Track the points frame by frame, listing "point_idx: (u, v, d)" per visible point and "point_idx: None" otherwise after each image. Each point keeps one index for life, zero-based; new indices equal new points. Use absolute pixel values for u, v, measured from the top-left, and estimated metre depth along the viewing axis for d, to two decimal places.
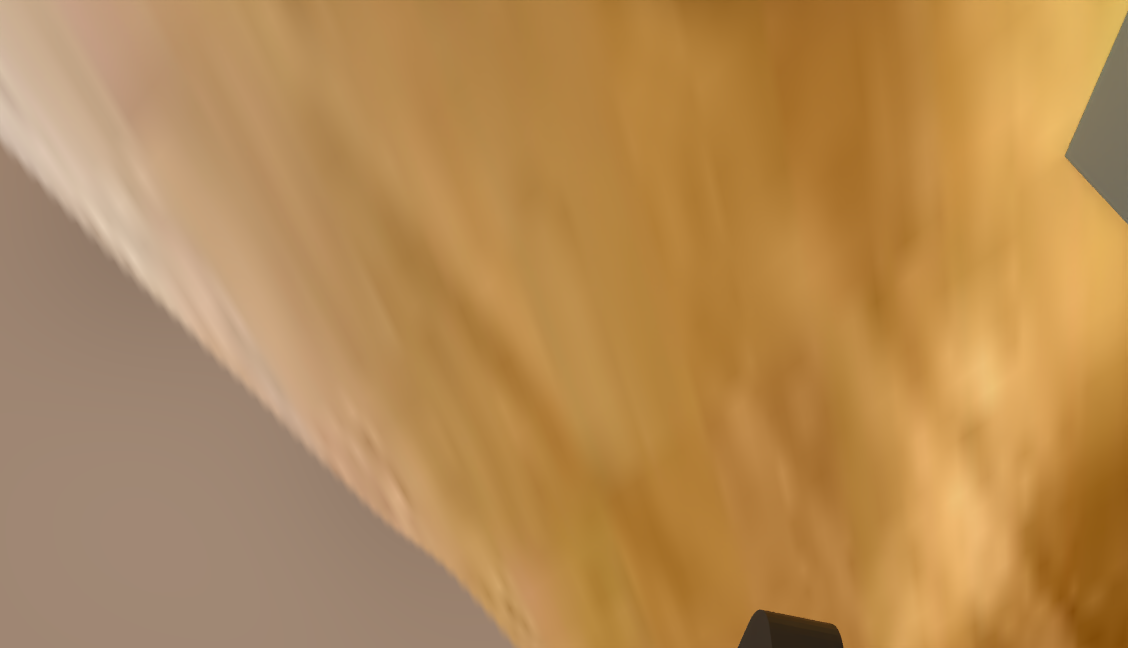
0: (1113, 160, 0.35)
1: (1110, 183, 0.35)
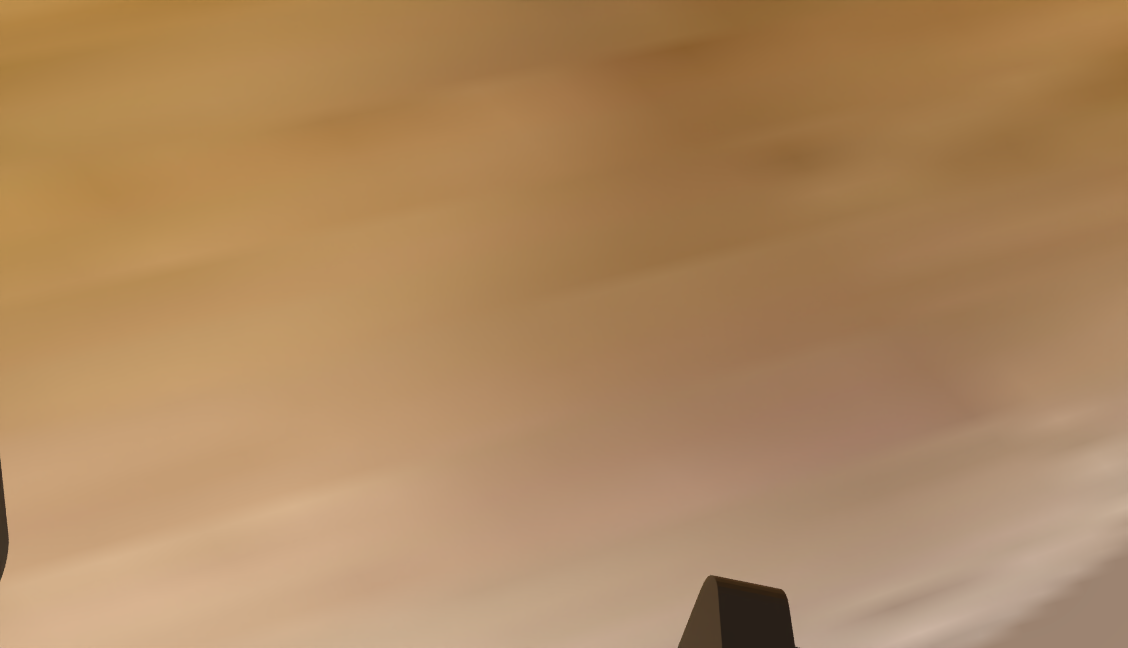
0: None
1: None
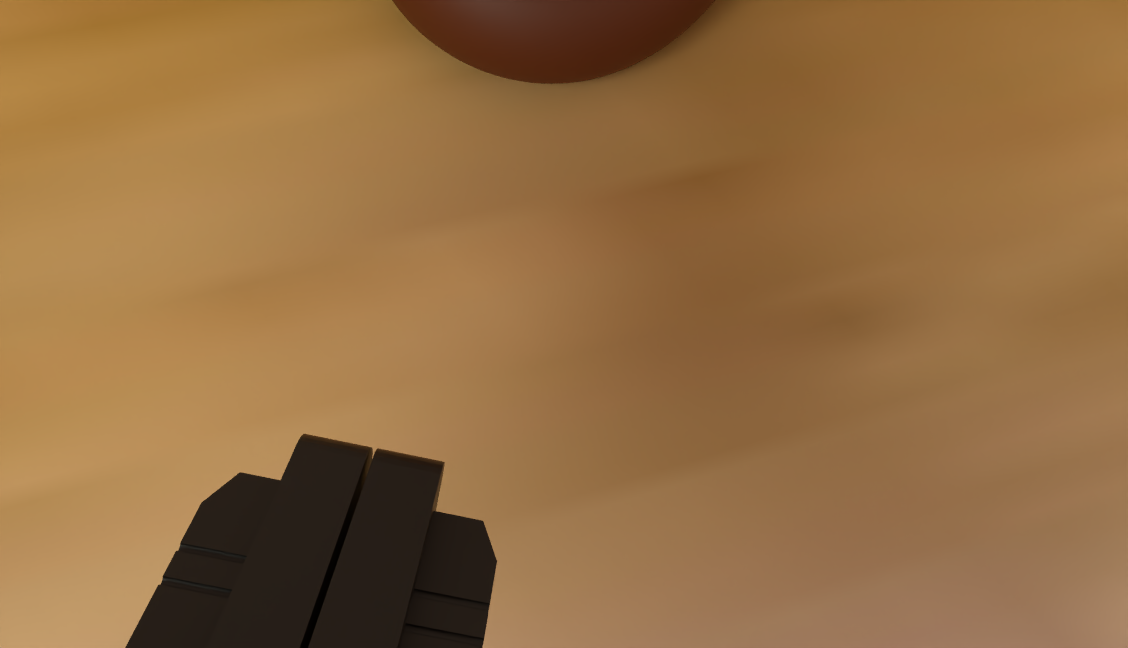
0: None
1: None
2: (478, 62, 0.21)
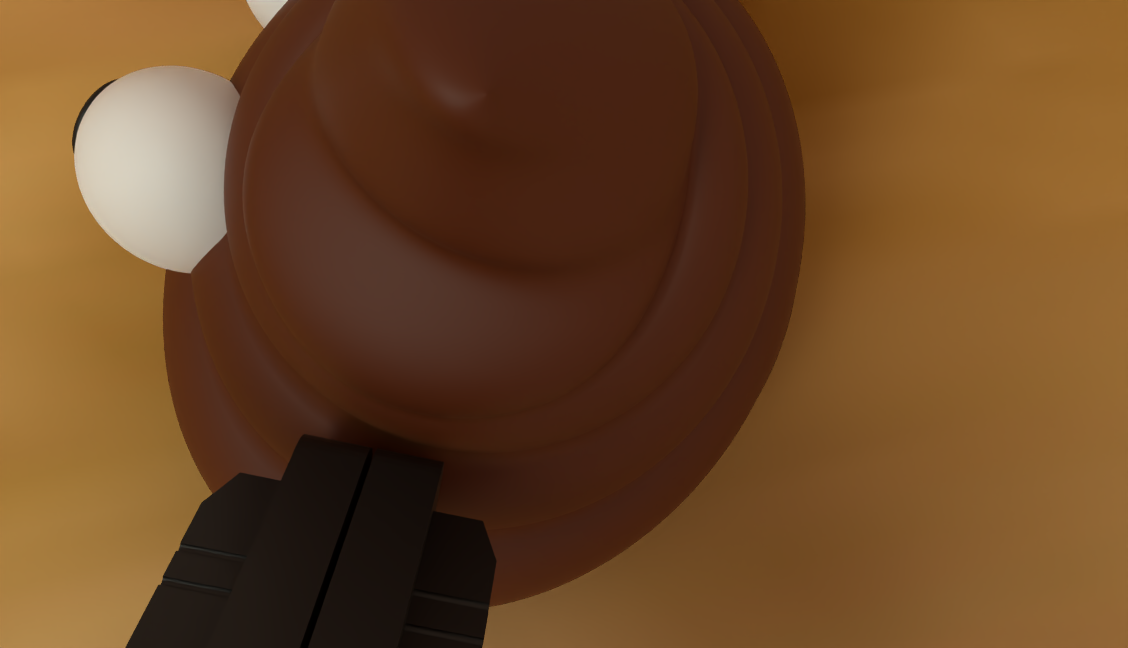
0: None
1: None
2: None
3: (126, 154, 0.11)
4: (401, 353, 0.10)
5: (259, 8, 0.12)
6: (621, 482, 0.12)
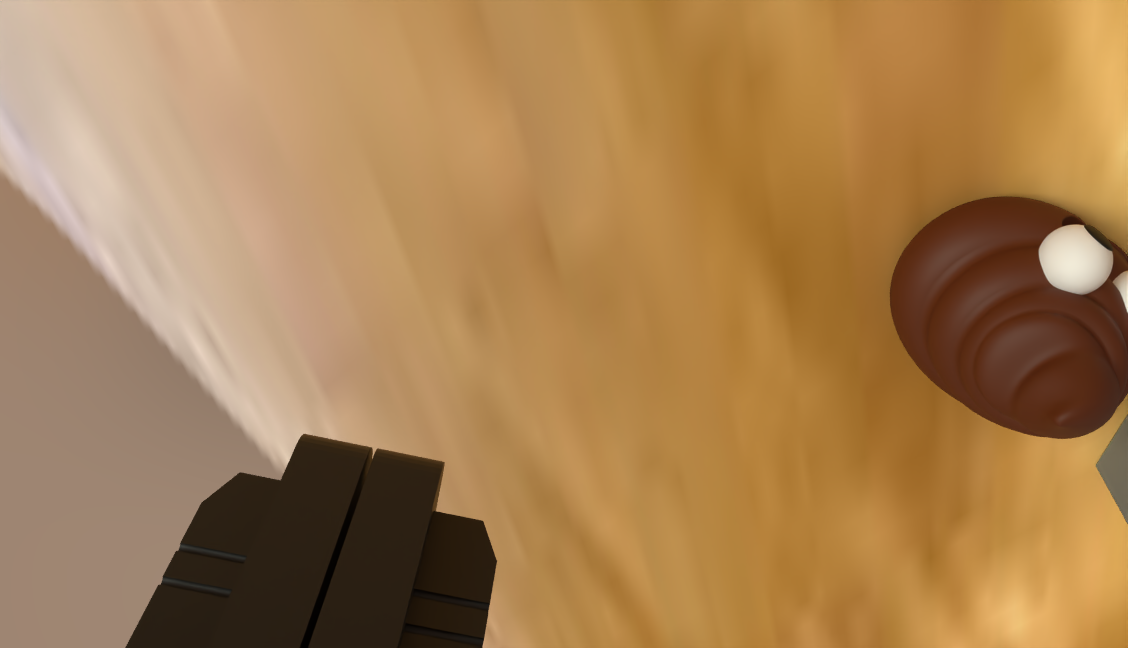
0: None
1: None
2: (906, 253, 0.40)
3: (1081, 270, 0.36)
4: (1000, 354, 0.36)
5: (1126, 287, 0.37)
6: (937, 369, 0.40)
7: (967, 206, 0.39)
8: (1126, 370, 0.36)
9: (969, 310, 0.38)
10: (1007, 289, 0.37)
